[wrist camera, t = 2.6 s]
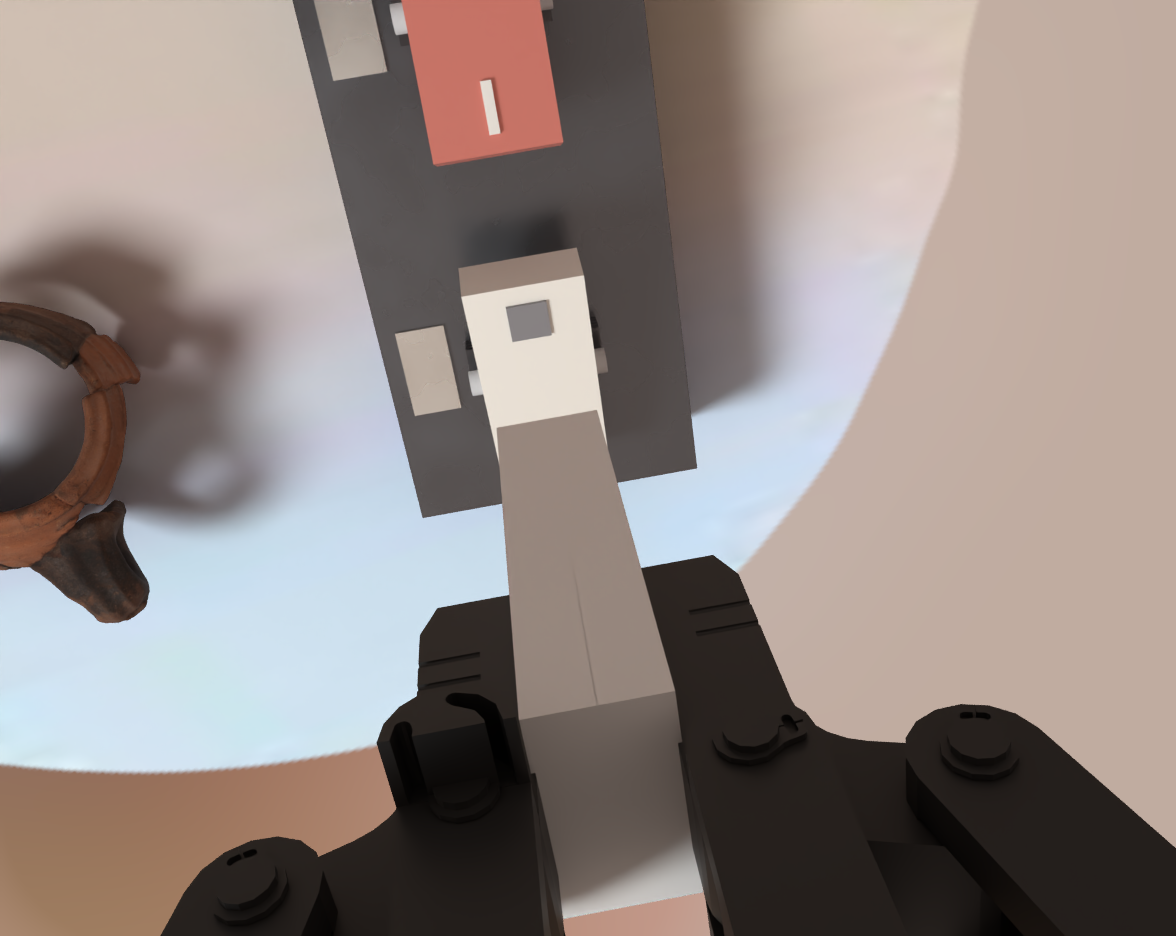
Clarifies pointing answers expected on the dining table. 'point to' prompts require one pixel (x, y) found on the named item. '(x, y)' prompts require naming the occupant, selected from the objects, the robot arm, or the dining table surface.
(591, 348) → the rocker
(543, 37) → the rocker
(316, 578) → the dining table surface
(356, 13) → the rocker switch panel
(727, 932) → the robot arm
